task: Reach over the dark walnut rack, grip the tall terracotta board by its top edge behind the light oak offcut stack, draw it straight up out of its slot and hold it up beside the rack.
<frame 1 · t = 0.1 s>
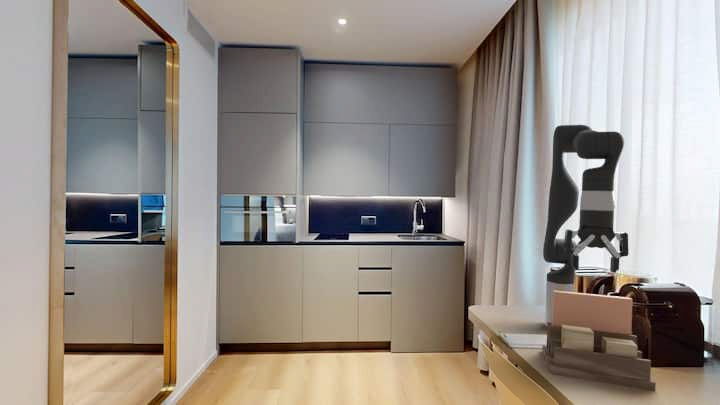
hand: (594, 270, 99), 29 cm above the table, tool pointing down, fingers open, 8 cm apart
baseboard molding: (551, 346, 125), on the table
offcut stack: (596, 367, 103), point 2 cm above the table, touching walnut rack
terracotta board: (588, 355, 111), point 2 cm above the table, touching walnut rack
walnut rack: (592, 368, 107), on the table
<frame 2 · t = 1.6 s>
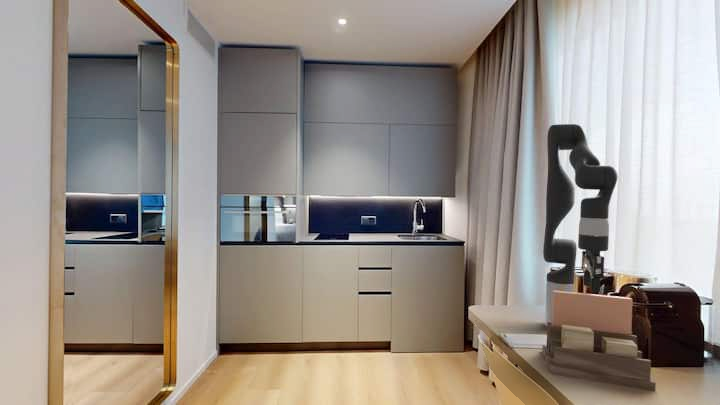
hand: (591, 288, 111), 22 cm above the table, tool pointing down, fingers open, 8 cm apart
nothing on the table moved.
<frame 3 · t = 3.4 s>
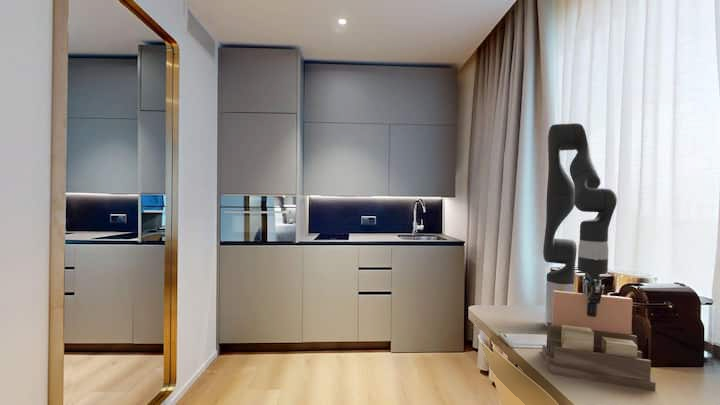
hand: (590, 314, 111), 14 cm above the table, tool pointing down, fingers closed on terracotta board, 2 cm apart
terracotta board: (588, 355, 111), point 2 cm above the table, touching gripper
everything else where it was.
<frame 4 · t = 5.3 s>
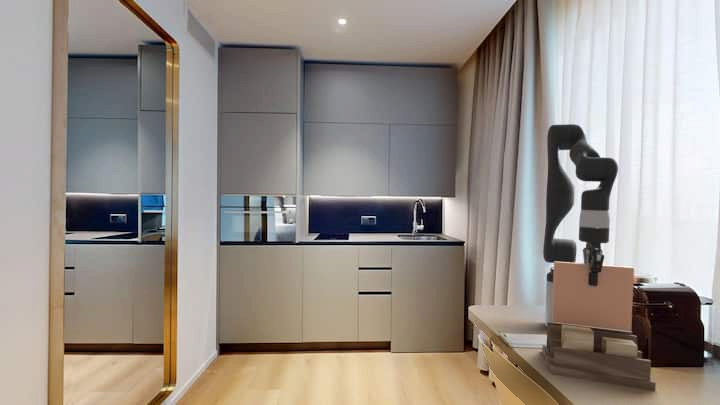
hand: (591, 284, 111), 23 cm above the table, tool pointing down, fingers closed on terracotta board
terracotta board: (590, 325, 111), point 11 cm above the table, touching gripper
everything else where it was.
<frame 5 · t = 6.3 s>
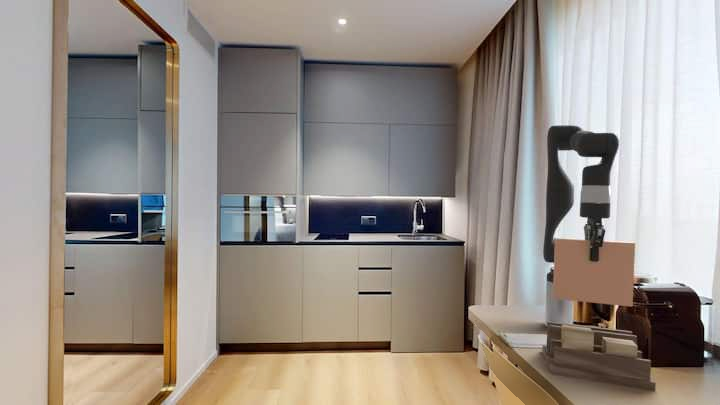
hand: (592, 260, 111), 30 cm above the table, tool pointing down, fingers closed on terracotta board
terracotta board: (591, 301, 111), point 18 cm above the table, touching gripper
everything else where it was.
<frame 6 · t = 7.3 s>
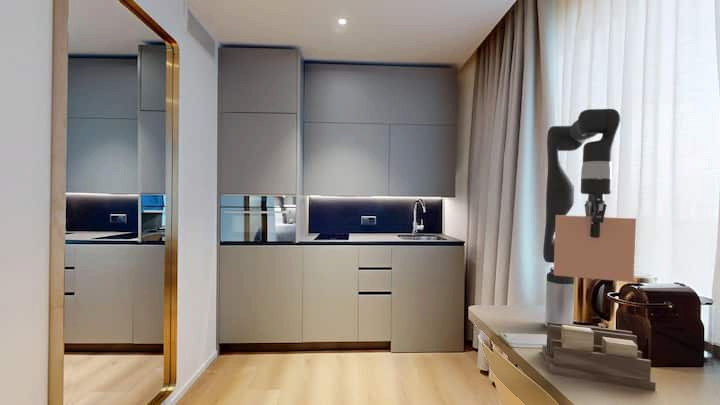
hand: (593, 236, 111), 37 cm above the table, tool pointing down, fingers closed on terracotta board
terracotta board: (591, 278, 111), point 25 cm above the table, touching gripper
everything else where it was.
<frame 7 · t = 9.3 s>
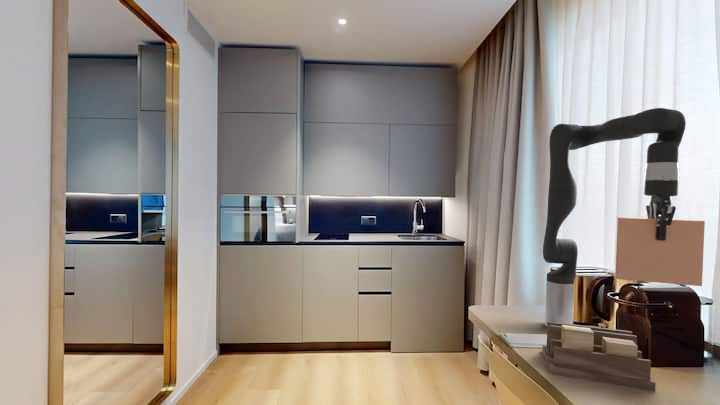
hand: (658, 239, 108), 37 cm above the table, tool pointing down, fingers closed on terracotta board
terracotta board: (656, 281, 108), point 25 cm above the table, touching gripper
everything else where it was.
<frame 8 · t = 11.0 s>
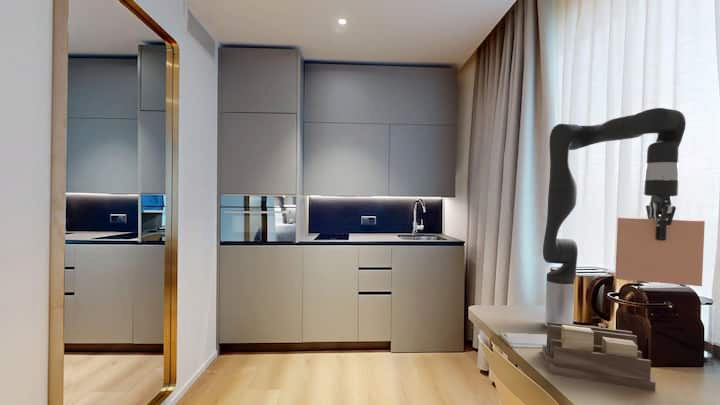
hand: (658, 239, 108), 37 cm above the table, tool pointing down, fingers closed on terracotta board
terracotta board: (656, 281, 108), point 25 cm above the table, touching gripper
everything else where it was.
at the end: the gripper is holding terracotta board; terracotta board inside the target area (0.1 cm from its centre), point 24.8 cm above the table; offcut stack moved 0.0 cm from its start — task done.
